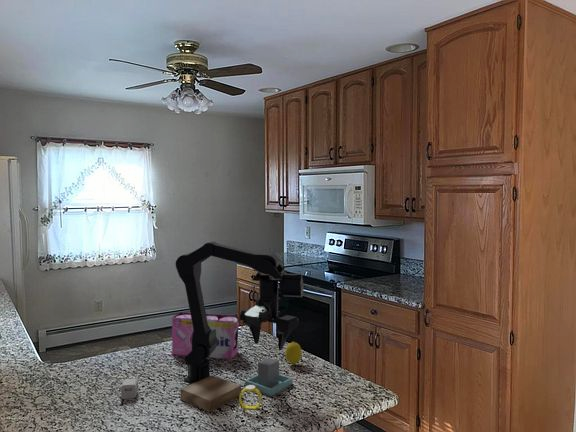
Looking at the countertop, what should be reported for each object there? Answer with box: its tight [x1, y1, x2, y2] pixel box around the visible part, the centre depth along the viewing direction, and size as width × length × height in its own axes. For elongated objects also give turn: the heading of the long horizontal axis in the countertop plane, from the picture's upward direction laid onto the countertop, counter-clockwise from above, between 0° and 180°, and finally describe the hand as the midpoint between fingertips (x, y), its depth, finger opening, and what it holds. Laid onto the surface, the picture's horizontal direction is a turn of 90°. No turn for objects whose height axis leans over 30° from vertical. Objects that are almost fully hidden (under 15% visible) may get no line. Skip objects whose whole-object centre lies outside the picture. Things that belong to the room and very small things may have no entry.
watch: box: [238, 385, 263, 410], centre depth 122 cm, size 6×3×6 cm, turn 85°
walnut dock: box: [179, 374, 242, 412], centre depth 128 cm, size 12×12×3 cm
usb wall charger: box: [120, 377, 139, 400], centre depth 130 cm, size 4×7×4 cm, turn 11°
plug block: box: [257, 357, 280, 388], centre depth 136 cm, size 4×5×7 cm
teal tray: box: [244, 373, 293, 397], centre depth 136 cm, size 10×10×2 cm
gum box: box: [171, 311, 240, 360], centre depth 163 cm, size 24×8×14 cm, turn 79°
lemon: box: [284, 341, 303, 366], centre depth 153 cm, size 6×6×8 cm
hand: (268, 346), depth 136 cm, fingers open, 9 cm apart
